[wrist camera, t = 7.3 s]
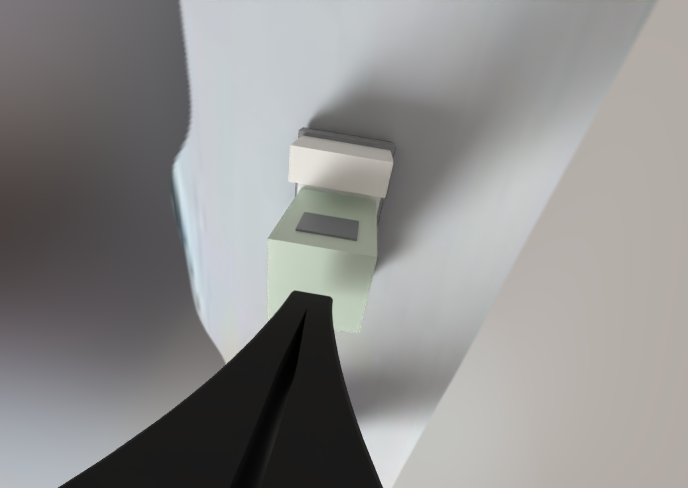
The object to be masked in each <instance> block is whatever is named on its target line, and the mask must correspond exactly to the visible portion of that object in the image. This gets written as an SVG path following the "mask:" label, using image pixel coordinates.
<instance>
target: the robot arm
mask: <svg viewBox="0 0 688 488" xmlns="http://www.w3.org/2000/svg"><path fill="white" fill-rule="evenodd" d="M332 304H333V299H332V298H331V297H330V296H325V295H319V294H313V293H308V292H302V291H296V290H294V291H293V292H291V293H290V295H289V296H288V298H287V299H286V301H285V302H284V303H283V304H282V306H281V307H280V308H279V310H278V311H277V312H276V313H275V314H274V316H273V317H272V318H271V319H270V320H269V321H268V322H267V324H266V325H265V326H264V327H263V328H262V329H261V330H260V331H259V332H258V333H257V335H256V336H255V337H254V338H253V339H252V340H251V341H250V342H249V343H248V344H247V345H246V346H245V347H244V348H243V349H242V350H241V351H240V352H239V353H238V354H237V355H236V356H235V357H234V358H233V359H232V360H231V361H229V362H228V363H227V364H226V365H225V366H224V367H223V368H222V369H221V370H220V371H218V372H217V373H216V374H215V375H214V376H213V377H212V378H210V379H209V380H208V381H207V382H206V383H205V384H203V385H202V386H201V387H200V388H199V389H197V390H196V391H195V392H194V393H192V394H191V395H190V396H189V397H188V398H186V399H185V400H184V401H182V402H181V403H180V404H179V405H177V406H176V407H175V408H174V409H172V410H171V411H170V412H169V413H167V414H166V415H164V416H163V417H162V418H160V419H159V420H158V421H156V422H155V423H154V424H152V425H151V426H149V427H148V428H147V429H145V430H143V431H142V432H141V433H139V434H138V435H136V436H135V437H134V438H132V439H131V440H129V441H128V442H127V443H125V444H124V445H122V446H121V447H119V448H118V449H117V450H115V451H114V452H112V453H111V454H109V455H108V456H106V457H105V458H103V459H102V460H101V461H99V462H97V463H96V464H94V465H93V466H91V467H90V468H88V469H87V470H85V471H84V472H82V473H80V474H79V475H77V476H76V477H74V478H72V479H71V480H69V481H68V482H66V483H65V484H63V485H61V486H60V487H58V488H383V487H382V484H381V482H380V479H379V477H378V474H377V472H376V470H375V467H374V465H373V462H372V460H371V457H370V455H369V452H368V450H367V447H366V445H365V442H364V440H363V437H362V434H361V431H360V428H359V425H358V423H357V420H356V417H355V414H354V411H353V408H352V405H351V402H350V398H349V395H348V392H347V388H346V385H345V381H344V377H343V373H342V369H341V365H340V361H339V356H338V351H337V346H336V340H335V334H334V327H333V315H332Z"/></svg>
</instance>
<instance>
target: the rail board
mask: <svg viewBox="0 0 688 488" xmlns="http://www.w3.org/2000/svg"><path fill="white" fill-rule="evenodd" d="M394 151H395V144H394V143H392V142H386V141H380V140H374V139H368V138H363V137H357V136H351V135H345V134H339V133H333V132H327V131H321V130H315V129H310V128H304V127H303V128H302V129H300V130H299V135H298V139H297V140H296V141H295V142H293V143H292V144H291V145H290V160H289V182H293V183H296V186H295V197H296V195H297V194H298V192H299V191H300V189H301V188H304V189H310V190H316V191H322V192H328V193H334V194H340V195H346V196H352V197H358V198H364V199H370V200H376V211H377V225H378V221H379V216H380V212H381V208H382V203H383V199H384V198H385V197H386V193H387V188H388V184H389V180H390V176H391V171H392V167H393V156H394Z"/></svg>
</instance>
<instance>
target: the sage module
mask: <svg viewBox="0 0 688 488" xmlns="http://www.w3.org/2000/svg"><path fill="white" fill-rule="evenodd" d="M376 261H377V211H376V200H370V199H364V198H358V197H352V196H346V195H340V194H334V193H328V192H322V191H316V190H310V189H304V188H301V189H300V191H299V192H298V194H297V195H296V197H295V198H294V200H293V201H292V203H291V204H290V206H289V207H288V209H287V210H286V212H285V213H284V215H283V216H282V218H281V219H280V221H279V222H278V224H277V225H276V227H275V228H274V230H273V231H272V233H271V234H270V236H269V237H268V287H267V318H269V319H271V318H272V317H273V316H274V314H275V313H276V312H277V311H278V310H279V308H280V307H281V306H282V304H283V303H284V302H285V301H286V299H287V298H288V296H289V295H290V293H291V292H293V291H294V290H296V291H302V292H308V293H313V294H319V295H325V296H330V297H331V298H332V299H333V304H332V315H333V327H334V330H339V331H345V332H351V333H357V334H359V331H360V327H361V323H362V319H363V315H364V311H365V307H366V303H367V298H368V294H369V290H370V286H371V282H372V278H373V274H374V269H375V265H376Z"/></svg>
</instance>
